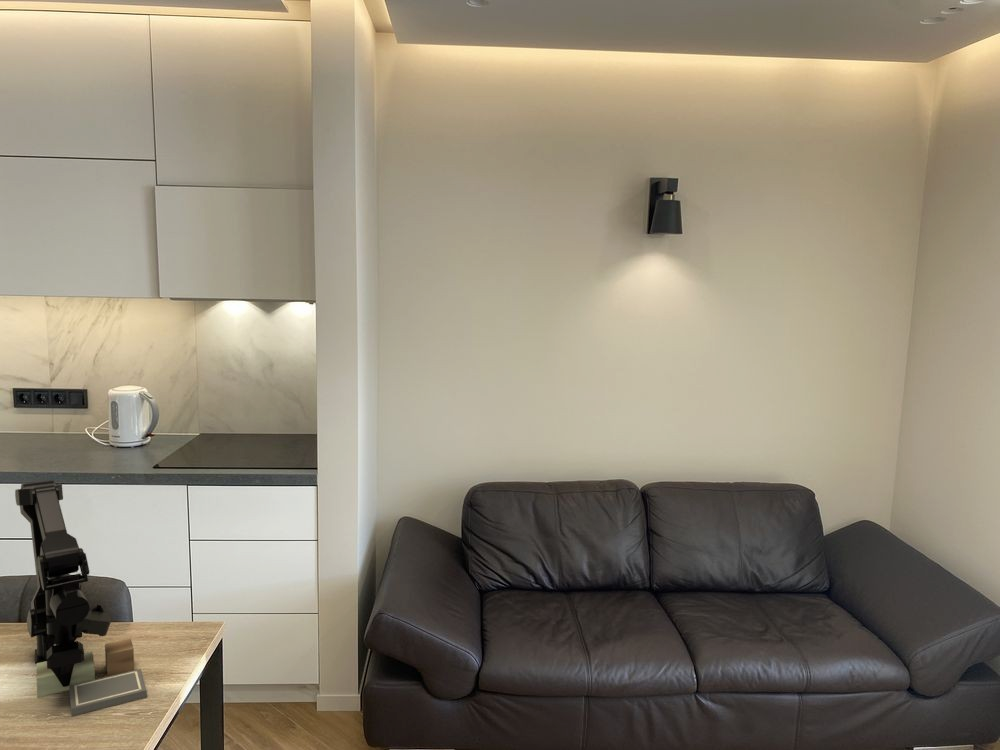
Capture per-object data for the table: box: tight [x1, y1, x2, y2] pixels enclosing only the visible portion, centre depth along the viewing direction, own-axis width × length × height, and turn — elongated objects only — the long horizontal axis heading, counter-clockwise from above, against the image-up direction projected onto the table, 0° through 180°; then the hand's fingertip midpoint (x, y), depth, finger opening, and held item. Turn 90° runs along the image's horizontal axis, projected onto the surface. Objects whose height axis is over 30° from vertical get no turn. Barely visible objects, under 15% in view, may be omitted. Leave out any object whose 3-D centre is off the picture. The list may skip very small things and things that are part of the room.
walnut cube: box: [104, 638, 135, 677], centre depth 153 cm, size 5×5×5 cm
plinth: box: [68, 668, 148, 717], centre depth 143 cm, size 9×13×2 cm
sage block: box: [35, 651, 96, 698], centre depth 147 cm, size 6×10×4 cm, turn 123°
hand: (65, 677), depth 147 cm, fingers closed on sage block, 6 cm apart
